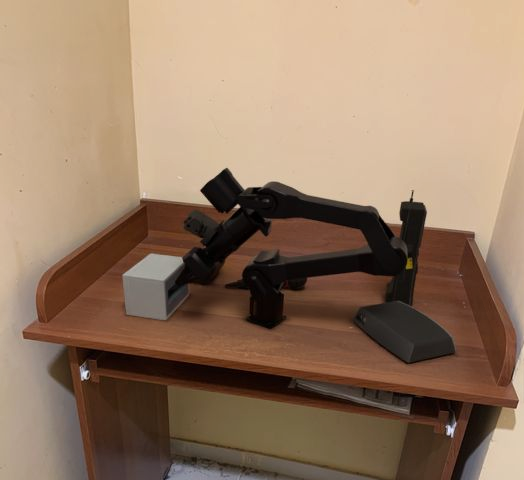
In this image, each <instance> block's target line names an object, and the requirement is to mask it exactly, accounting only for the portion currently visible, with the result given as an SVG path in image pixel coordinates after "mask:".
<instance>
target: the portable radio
mask: <svg viewBox="0 0 524 480" xmlns="http://www.w3.org/2000/svg"><path fill="white" fill-rule="evenodd" d="M414 192H415V190H414V189H412V190H411V196H410V198H409V200H407V201H405V200H404V201H401V202H400V207H399V212H398V214H399V221H400V222H401V226H400V233H399V238H400V239H401V240H403V241H404V242H405V244H406V246H407V258H408V259H407V265H406V268H405V269H404V270H403V271H402V272H401V273H400V274H399V275H396V276H391V281H390V282H387V283H386V287H385V292H384V293H385V294H384V303H388V302H393V301H400V302H402V303H405V304H407V305H409V306H411V307H413V302H414V292H415V286H416V279H417V274H418V271H419V261H418V259H419V256H420V249H421V245H422V242H423V241H422V240H423V235H424V230H425V225H426V220H427V214H428V210H427V207H426V205H425V204H424V202H421V201H414V198H413V196H414Z"/></svg>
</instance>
